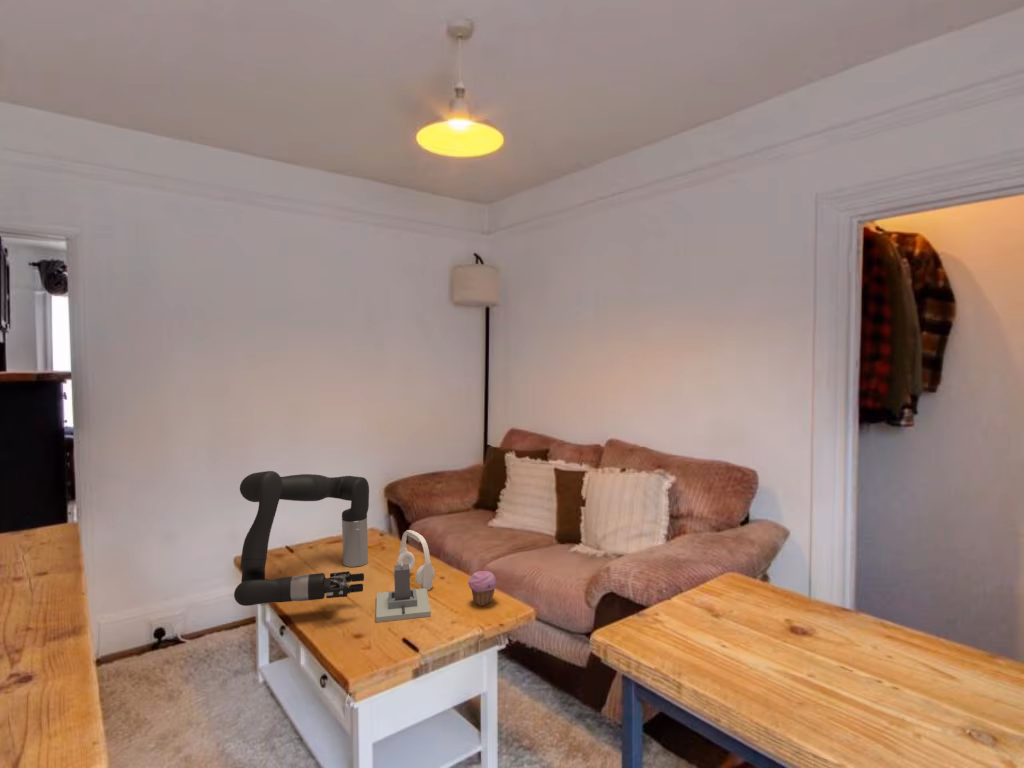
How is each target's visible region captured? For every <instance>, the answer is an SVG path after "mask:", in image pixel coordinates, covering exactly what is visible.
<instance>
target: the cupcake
mask: <svg viewBox="0 0 1024 768" xmlns="http://www.w3.org/2000/svg"><path fill="white" fill-rule="evenodd" d="M468 586H469V587H468V588H469V589H470V590H471V596H472V599H473V602H474V603H475V604H477V605H479V606H480V607H484V606H486V605H488V604H490V603H491V601H492V600H493V599H494V596H495V589H496V588H497V578H496V576H495V574H494V573H492V572H491V571H488V570H479V571H475V572H473V574H472V575H471V576H470V577H469V579H468Z"/></svg>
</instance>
